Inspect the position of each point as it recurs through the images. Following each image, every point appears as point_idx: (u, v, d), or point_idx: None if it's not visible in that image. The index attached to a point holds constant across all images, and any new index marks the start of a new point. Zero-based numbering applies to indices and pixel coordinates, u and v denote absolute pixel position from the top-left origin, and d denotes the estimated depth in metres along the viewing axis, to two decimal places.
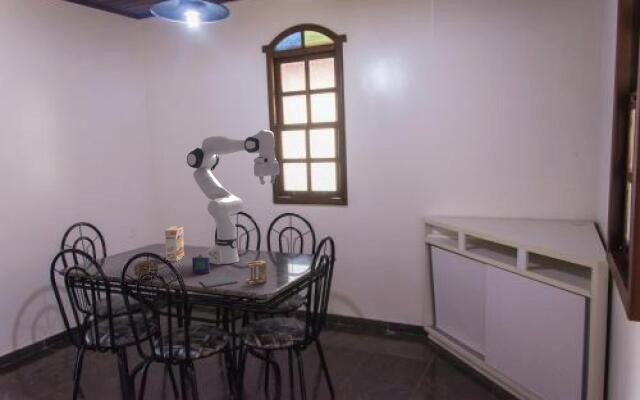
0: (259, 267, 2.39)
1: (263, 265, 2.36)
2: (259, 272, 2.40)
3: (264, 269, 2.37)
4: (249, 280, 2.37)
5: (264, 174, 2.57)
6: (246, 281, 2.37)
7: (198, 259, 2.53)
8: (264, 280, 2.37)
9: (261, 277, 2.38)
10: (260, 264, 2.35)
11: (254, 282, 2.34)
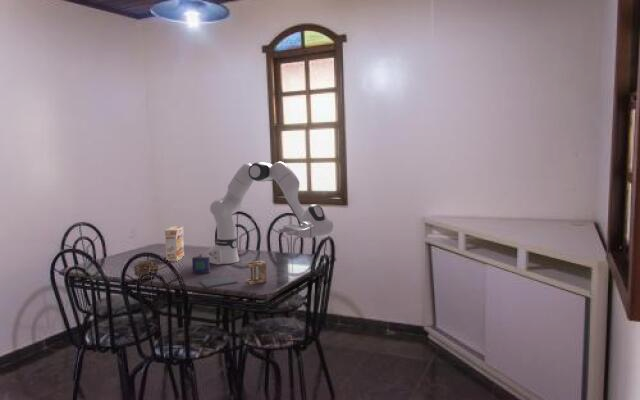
0: (259, 267, 2.39)
1: (263, 265, 2.36)
2: (259, 272, 2.40)
3: (264, 269, 2.37)
4: (249, 280, 2.37)
5: None
6: (246, 281, 2.37)
7: (198, 259, 2.53)
8: (264, 280, 2.37)
9: (261, 277, 2.38)
10: (260, 264, 2.35)
11: (254, 282, 2.34)
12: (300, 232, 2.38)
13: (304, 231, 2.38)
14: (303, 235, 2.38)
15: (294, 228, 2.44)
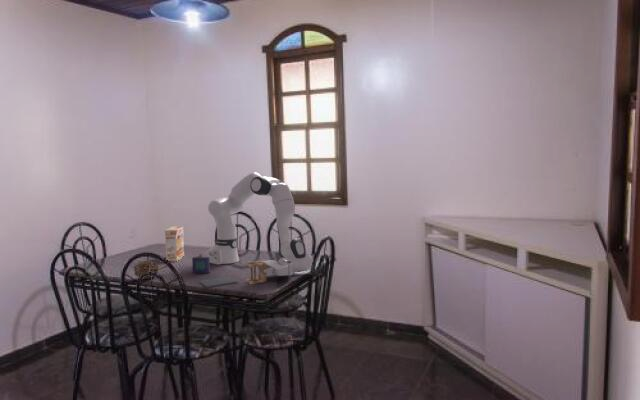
0: (259, 267, 2.39)
1: (263, 265, 2.36)
2: (259, 272, 2.40)
3: None
4: (249, 280, 2.37)
5: None
6: (246, 281, 2.37)
7: (198, 259, 2.53)
8: (264, 280, 2.37)
9: (261, 277, 2.38)
10: (260, 264, 2.35)
11: (254, 282, 2.34)
12: (278, 270, 2.33)
13: (282, 269, 2.34)
14: (281, 273, 2.34)
15: (272, 265, 2.39)
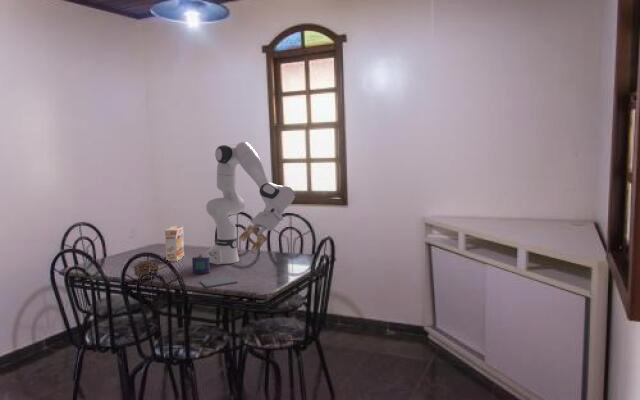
0: (252, 231, 2.37)
1: (254, 230, 2.33)
2: (256, 235, 2.38)
3: None
4: (253, 247, 2.38)
5: None
6: None
7: (198, 259, 2.53)
8: (264, 239, 2.36)
9: (260, 238, 2.37)
10: (250, 231, 2.32)
11: (258, 247, 2.35)
12: (268, 227, 2.29)
13: (271, 223, 2.29)
14: (273, 227, 2.30)
15: (261, 223, 2.34)
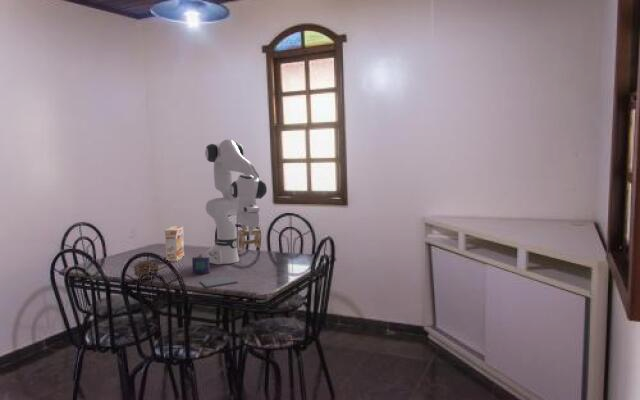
0: None
1: (244, 234, 2.32)
2: None
3: None
4: (256, 243, 2.40)
5: None
6: None
7: (198, 259, 2.53)
8: (259, 232, 2.36)
9: None
10: (243, 238, 2.32)
11: (259, 243, 2.36)
12: (253, 226, 2.26)
13: (253, 222, 2.26)
14: (257, 223, 2.27)
15: (246, 224, 2.32)
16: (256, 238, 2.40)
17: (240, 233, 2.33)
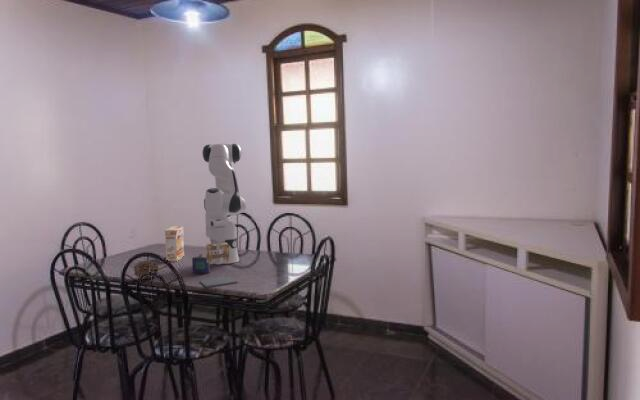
0: None
1: (212, 249, 2.31)
2: None
3: None
4: (224, 257, 2.39)
5: None
6: (225, 259, 2.40)
7: (198, 259, 2.53)
8: (227, 246, 2.35)
9: None
10: (210, 252, 2.31)
11: (228, 257, 2.35)
12: (220, 241, 2.25)
13: (219, 236, 2.25)
14: (223, 237, 2.26)
15: (213, 238, 2.31)
16: (225, 252, 2.39)
17: (208, 247, 2.32)
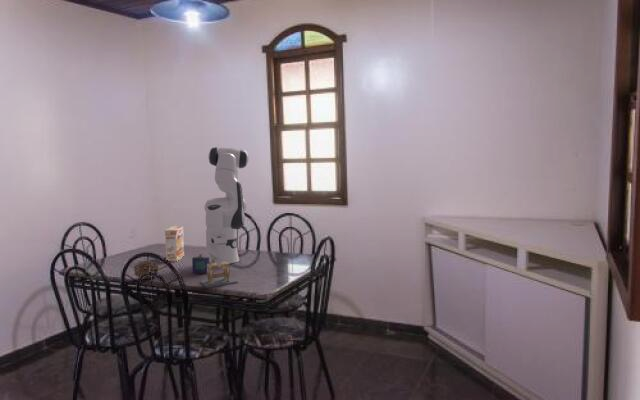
0: None
1: (212, 268, 2.32)
2: None
3: (217, 267, 2.33)
4: (225, 276, 2.40)
5: None
6: (226, 278, 2.41)
7: (198, 259, 2.53)
8: (227, 265, 2.36)
9: None
10: (211, 272, 2.31)
11: (228, 276, 2.36)
12: (220, 258, 2.26)
13: (220, 254, 2.26)
14: (224, 254, 2.27)
15: (213, 255, 2.32)
16: (225, 271, 2.40)
17: (208, 267, 2.33)
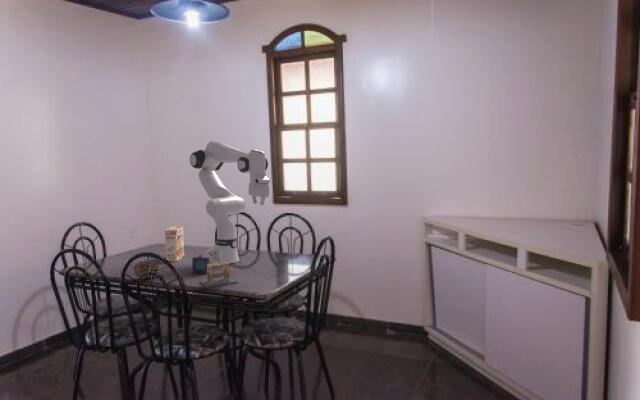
0: None
1: (212, 268, 2.32)
2: None
3: (217, 267, 2.33)
4: (225, 276, 2.40)
5: None
6: (226, 278, 2.41)
7: (198, 259, 2.53)
8: (227, 265, 2.36)
9: None
10: (211, 272, 2.31)
11: (228, 276, 2.36)
12: (264, 196, 2.48)
13: (264, 192, 2.47)
14: (267, 193, 2.48)
15: (257, 195, 2.53)
16: (225, 271, 2.40)
17: (208, 267, 2.33)
